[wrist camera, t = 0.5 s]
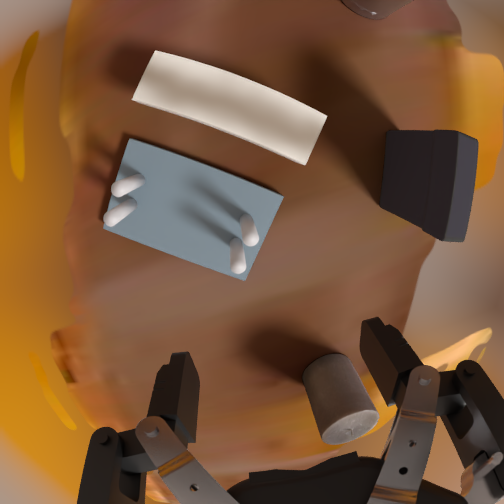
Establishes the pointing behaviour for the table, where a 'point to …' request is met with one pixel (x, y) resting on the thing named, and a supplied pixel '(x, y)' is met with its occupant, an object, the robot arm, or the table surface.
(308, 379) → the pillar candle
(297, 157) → the shelf board
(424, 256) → the table surface
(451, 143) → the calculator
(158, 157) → the peg stand
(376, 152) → the table surface
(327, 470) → the robot arm
